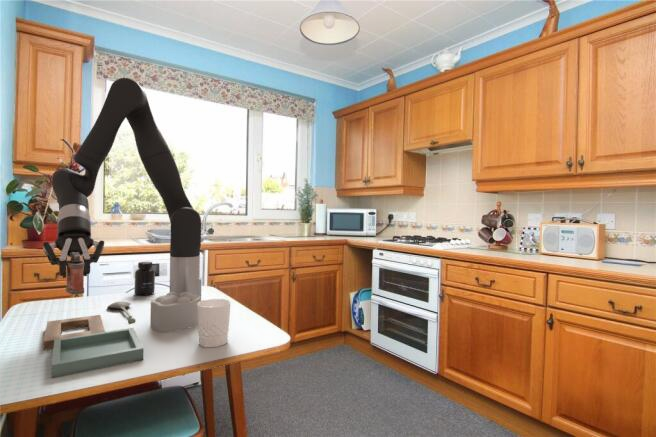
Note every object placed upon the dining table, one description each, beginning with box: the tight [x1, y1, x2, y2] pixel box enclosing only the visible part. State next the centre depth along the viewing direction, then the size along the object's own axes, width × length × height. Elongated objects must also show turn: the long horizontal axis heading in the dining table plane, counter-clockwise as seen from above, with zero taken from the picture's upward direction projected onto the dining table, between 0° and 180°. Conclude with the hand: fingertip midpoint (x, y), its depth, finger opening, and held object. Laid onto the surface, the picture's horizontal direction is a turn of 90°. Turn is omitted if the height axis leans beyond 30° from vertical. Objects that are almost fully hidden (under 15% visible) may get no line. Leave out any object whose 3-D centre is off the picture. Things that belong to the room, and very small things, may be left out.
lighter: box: [65, 252, 85, 296], centre depth 93 cm, size 8×3×10 cm, turn 47°
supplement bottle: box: [133, 261, 156, 297], centre depth 137 cm, size 7×7×12 cm
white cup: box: [197, 298, 231, 348], centre depth 90 cm, size 8×8×10 cm
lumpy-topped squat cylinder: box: [150, 291, 202, 334], centre depth 103 cm, size 10×13×9 cm
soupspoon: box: [107, 301, 136, 324], centre depth 112 cm, size 22×3×7 cm
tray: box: [51, 327, 145, 379], centre depth 81 cm, size 16×16×2 cm
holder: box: [43, 314, 106, 351], centre depth 93 cm, size 12×17×2 cm
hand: (75, 274), depth 91 cm, fingers closed on lighter, 3 cm apart
